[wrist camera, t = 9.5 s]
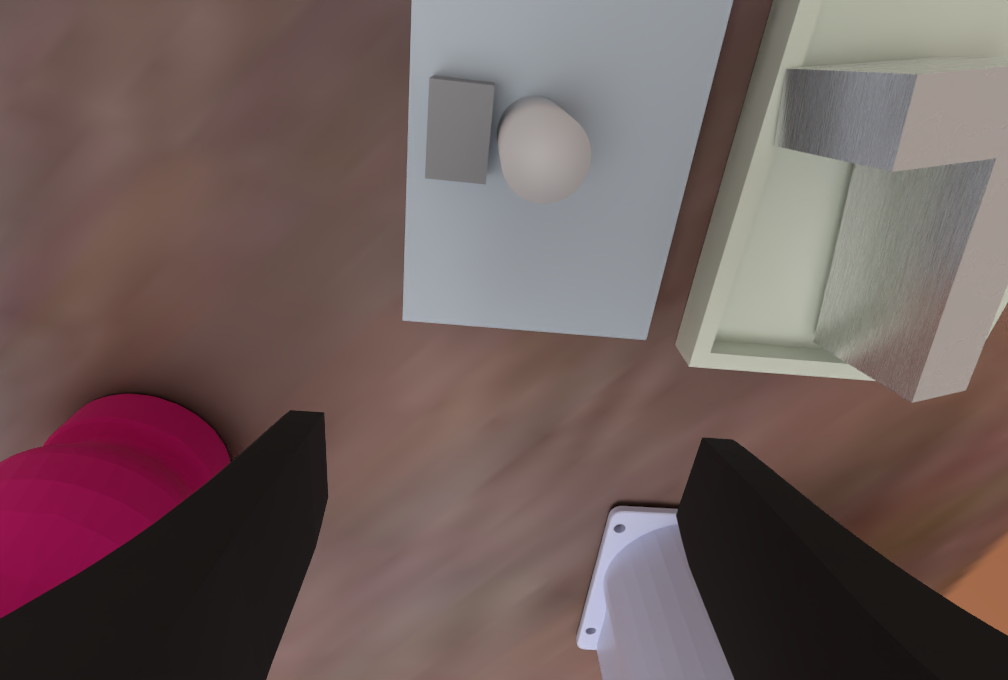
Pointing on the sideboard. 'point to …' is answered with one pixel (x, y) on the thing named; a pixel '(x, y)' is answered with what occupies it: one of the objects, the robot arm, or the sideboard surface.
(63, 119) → the sideboard surface
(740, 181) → the tray
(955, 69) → the hook
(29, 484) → the pepper mill
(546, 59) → the vise block
